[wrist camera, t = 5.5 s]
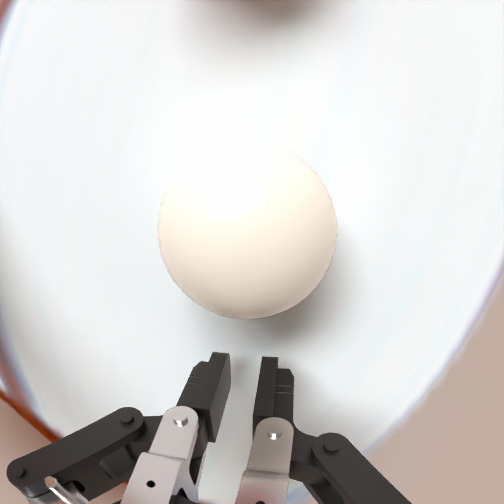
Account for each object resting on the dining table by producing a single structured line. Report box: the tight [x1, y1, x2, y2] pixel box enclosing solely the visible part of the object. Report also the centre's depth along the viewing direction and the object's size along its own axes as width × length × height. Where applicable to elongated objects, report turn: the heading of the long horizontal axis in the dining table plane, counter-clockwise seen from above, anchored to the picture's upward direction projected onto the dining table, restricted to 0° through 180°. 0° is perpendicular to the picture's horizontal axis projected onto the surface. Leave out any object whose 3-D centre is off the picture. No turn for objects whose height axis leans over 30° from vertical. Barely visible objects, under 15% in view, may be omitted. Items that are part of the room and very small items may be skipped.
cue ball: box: [158, 140, 337, 319], centre depth 9 cm, size 6×6×6 cm
